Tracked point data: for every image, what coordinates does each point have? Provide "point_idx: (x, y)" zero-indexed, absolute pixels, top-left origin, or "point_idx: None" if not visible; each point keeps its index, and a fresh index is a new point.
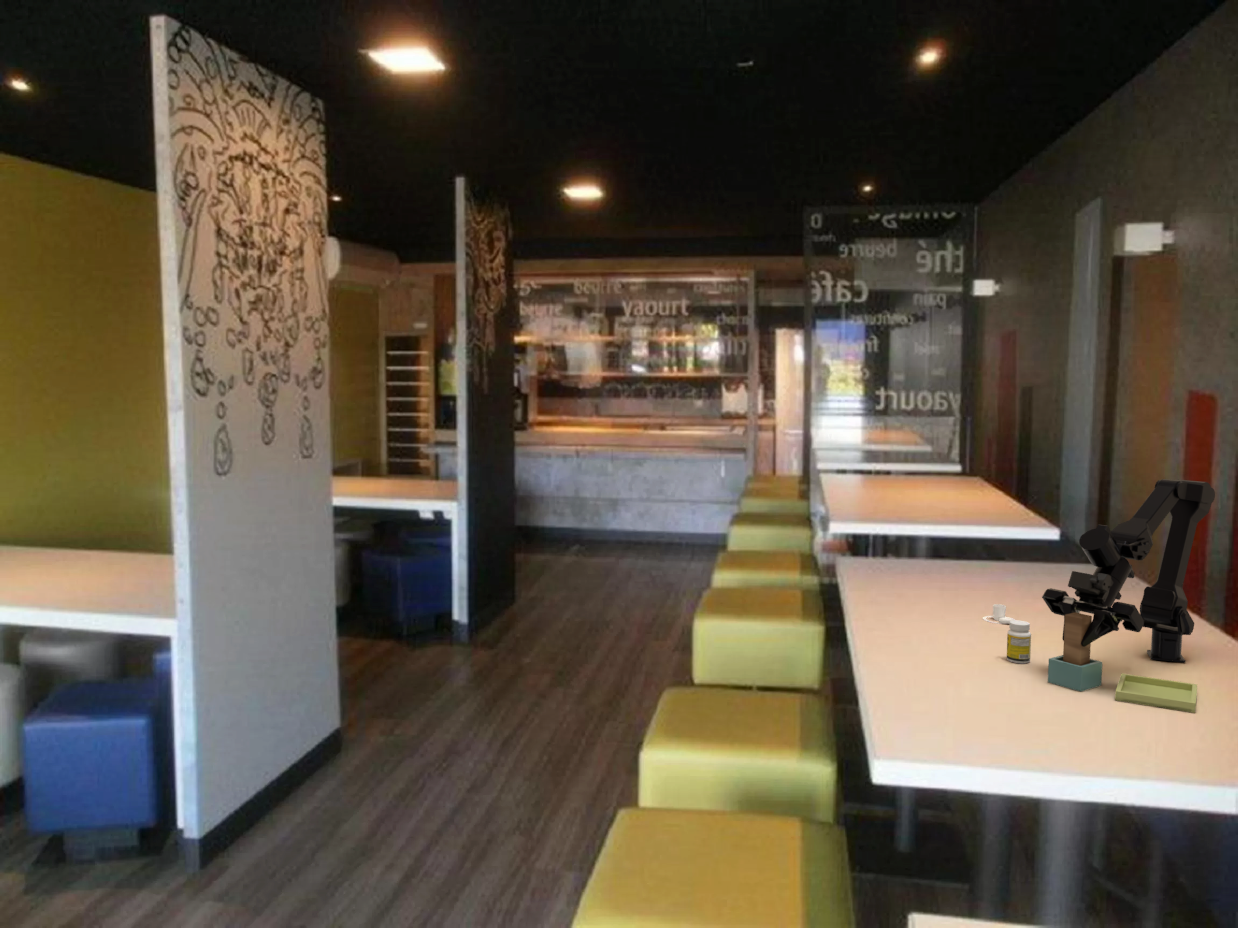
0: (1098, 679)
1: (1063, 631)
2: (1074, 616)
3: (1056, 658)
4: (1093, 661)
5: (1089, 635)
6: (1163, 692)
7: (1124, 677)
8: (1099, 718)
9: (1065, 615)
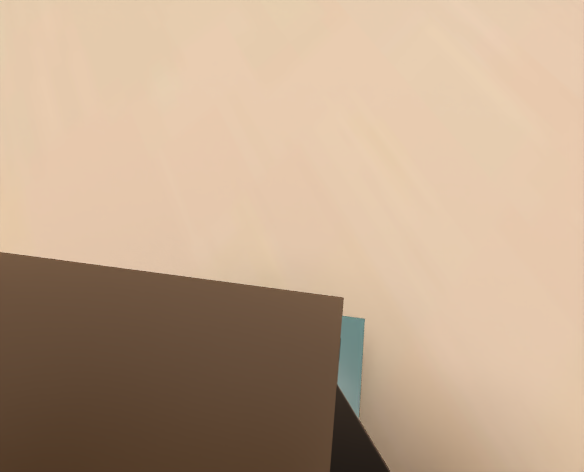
0: None
1: (352, 416)
2: (151, 307)
3: (338, 364)
4: None
5: None
6: None
7: None
8: (47, 98)
9: (327, 296)
